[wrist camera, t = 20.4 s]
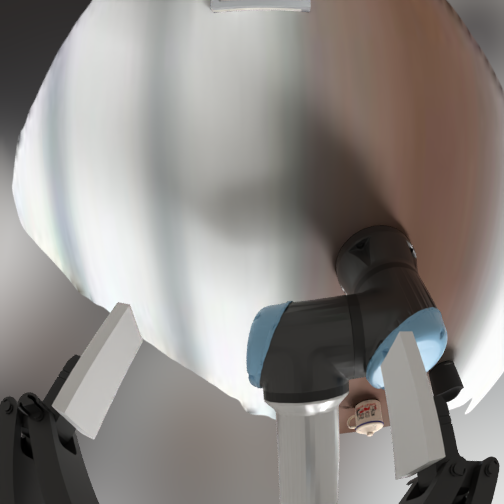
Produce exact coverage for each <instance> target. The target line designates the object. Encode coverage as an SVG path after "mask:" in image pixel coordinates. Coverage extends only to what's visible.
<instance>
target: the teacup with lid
mask: <svg viewBox="0 0 504 504" xmlns="http://www.w3.org/2000/svg"><path fill="white" fill-rule="evenodd" d="M354 417H355V418H356V426H350V421H351V419H353V418H354ZM383 424H384V423H383V421H382V413H381V406H380V402H379V401H378V400H366V401H363V402H360V403H359V404H357V405H356V406H355V415H353V416H351V417H350V418H349V419H348V421H347V426H348V428H350V429H354V428H356V429H355V430H356V432H358V433H360V434H367V436H372V435H373V433H374V432H376V431H378V430H379V429H381V428H382V427H383Z"/></svg>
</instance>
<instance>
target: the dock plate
mask: <svg viewBox="0 0 504 504" xmlns="http://www.w3.org/2000/svg"><path fill="white" fill-rule="evenodd" d="M210 9H211V10H212V11H213V12H214V13H217V12H228V11H246V10H284V11H301V12H310V0H211V5H210Z"/></svg>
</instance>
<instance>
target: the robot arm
mask: <svg viewBox="0 0 504 504" xmlns="http://www.w3.org/2000/svg"><path fill="white" fill-rule="evenodd" d="M336 272H337V277H338V281H339V284H340V286H341V288H342V290H343V291H344V292H345V293H346V294H347V295H342V296H336V297H329V298H323V299H316V300H309V301H301V302H293V301H288V302H287V303H283V304H278V305H272V306H267V307H264V308H263V309H261V310H260V311H259V312H258V313H257V315H256V317H255V319H254V321H253V323H252V326H251V329H250V333H249V338H248V345H247V372H248V374H249V381H250V383H251V384H252V385H253V386H255V387H257V388H263V391H264V401H265V402H266V403H267V404H268V405H269V406H271V407H272V408H273V409H274V410H275V411H276V424H277V444H278V466H279V490H280V504H337V499H338V478H339V404H340V402H341V401H342V400H343V399H344V398H345V397H346V396H347V395H348V394H349V380H350V379H355V378H361V377H366V379H367V380H368V382H369V383H370V384H371V385H372V386H373V387H375V388H378V389H379V388H382V389H385V393H386V399H387V405H388V412H389V419H390V426H391V434H392V443H393V452H394V464H395V476H396V477H395V478H396V479H401V478H406V477H410V476H412V475H414V474H416V473H417V475H418V477H416V478H414V479H412V480H410V481H409V482H408V483H407V485H410V484H412V483H413V484H412V485H411V487H410V488H409V490H408V491H407V493H406V494H405V495H404V497H403V498H402V500H401V501H400V502H399V504H491V502H492V499H493V495H494V491H495V487H496V483H497V478H498V473H499V463H498V460H497V459H496V458H495V457H488V458H487V459H485V460H483V461H466V460H465V459H464V458H463V457H461V456H460V455H459V453H458V450H457V446H456V440H455V436H454V431H453V426H452V424H451V418H450V416H449V410H448V406H447V403H446V402H445V400H444V399H443V397H442V396H441V395H439V396H433V395H432V391H431V388H430V384H429V381H428V377H427V374H426V372H427V371H429V370H430V369H431V368H432V367H433V366H434V365H435V364H436V363H437V362H438V360H439V359H440V357H441V356H442V354H443V352H444V350H445V348H446V344H447V331H446V328H445V325H444V322H443V320H442V316H441V313H440V311H439V310H438V309H437V307H436V305H435V303H434V301H433V299H432V298H431V296H430V294H429V292H428V290H427V288H426V287H425V285H424V283H423V281H422V280H421V278H420V276H419V275H418V269H417V259H416V253H415V250H414V248H413V246H412V244H411V243H410V241H409V240H408V238H407V237H406V236H405V235H404V234H403V233H402V232H401V231H399V230H397V229H395V228H393V227H389V226H373V227H369V228H366V229H364V230H361V231H359V232H358V233H356V234H355V235H353V236H352V237H351V238H350V239H349V240H348V241H347V242H346V243H345V244H344V246H343V247H342V249H341V250H340V252H339V255H338V258H337V262H336ZM142 342H143V340H142V337H141V334H140V332H139V329H138V326H137V324H136V321H135V318H134V315H133V312H132V309H131V306H130V305H129V304H124V303H119V302H118V303H117V304H116V306H115V307H114V308H113V310H112V311H111V313H110V314H109V316H108V317H107V318H106V320H105V321H104V323H103V324H102V326H101V327H100V329H99V330H98V331H97V333H96V334H95V336H94V337H93V339H92V340H91V342H90V343H89V345H88V346H87V348H86V349H85V351H84V353H83V354H82V356H78V355H75V356H73V357H72V358H71V359H70V360H68V361H67V363H66V365H65V366H64V368H63V371H61V372H60V374H59V377H57V379H56V380H55V382H54V384H53V385H52V387H51V389H50V390H49V392H48V394H47V396H46V397H45V399H44V400H43V401H41V400H40V399H39V398H38V397H37V396H36V395H35V394H33V393H25V394H23V395H22V396H21V397H20V399H19V401H18V402H17V401H16V400H15V399H14V398H13V397H6V398H4V399H3V401H2V402H1V404H0V504H99V502H98V500H97V498H96V495H95V493H94V490H93V487H92V485H91V482H90V479H89V477H88V473H87V470H86V467H85V464H84V461H83V458H82V454H81V451H80V447H79V444H78V440H77V436H76V434H75V429H77V430H78V431H80V432H81V433H82V434H84V435H86V436H88V437H90V438H92V439H95V437H96V435H97V433H98V430H99V428H100V426H101V424H102V422H103V419H104V417H105V415H106V413H107V411H108V409H109V407H110V405H111V402H112V400H113V398H114V396H115V394H116V392H117V390H118V388H119V386H120V384H121V382H122V380H123V378H124V376H125V374H126V372H127V370H128V368H129V366H130V364H131V363H132V361H133V359H134V357H135V355H136V353H137V351H138V349H139V347H140V345H141V344H142ZM21 433H23V436H22V437H21Z"/></svg>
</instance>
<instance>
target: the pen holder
mask: <svg viewBox="0 0 504 504" xmlns="http://www.w3.org/2000/svg"><path fill="white" fill-rule="evenodd" d="M429 377H430V381H431V386H432V390H433V394H434V396H439V395H441V396H442V397H443V399H444V400H445V402H449V401H451V400H453V399H454V398H455V397H456V396H457V395H458V394H459V392H460V391H461V389H462V388H464V387H463V384H462V382H461V379H460V377H459V374H458V372H457V370H456V367H455V365H454V363H453V362H451V361H445V362H442V363H440V364H438V365H437V366H435V367H434V368H433V369H432V370H431V372H430V374H429Z"/></svg>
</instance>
